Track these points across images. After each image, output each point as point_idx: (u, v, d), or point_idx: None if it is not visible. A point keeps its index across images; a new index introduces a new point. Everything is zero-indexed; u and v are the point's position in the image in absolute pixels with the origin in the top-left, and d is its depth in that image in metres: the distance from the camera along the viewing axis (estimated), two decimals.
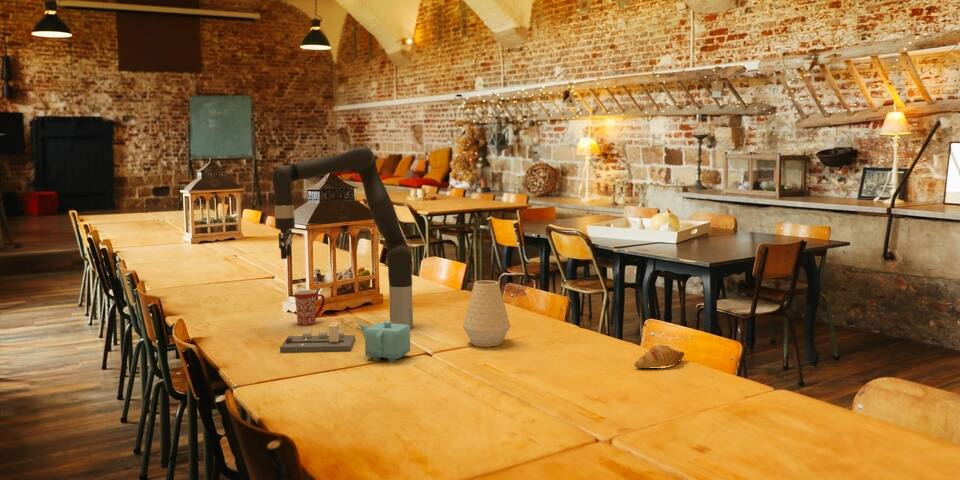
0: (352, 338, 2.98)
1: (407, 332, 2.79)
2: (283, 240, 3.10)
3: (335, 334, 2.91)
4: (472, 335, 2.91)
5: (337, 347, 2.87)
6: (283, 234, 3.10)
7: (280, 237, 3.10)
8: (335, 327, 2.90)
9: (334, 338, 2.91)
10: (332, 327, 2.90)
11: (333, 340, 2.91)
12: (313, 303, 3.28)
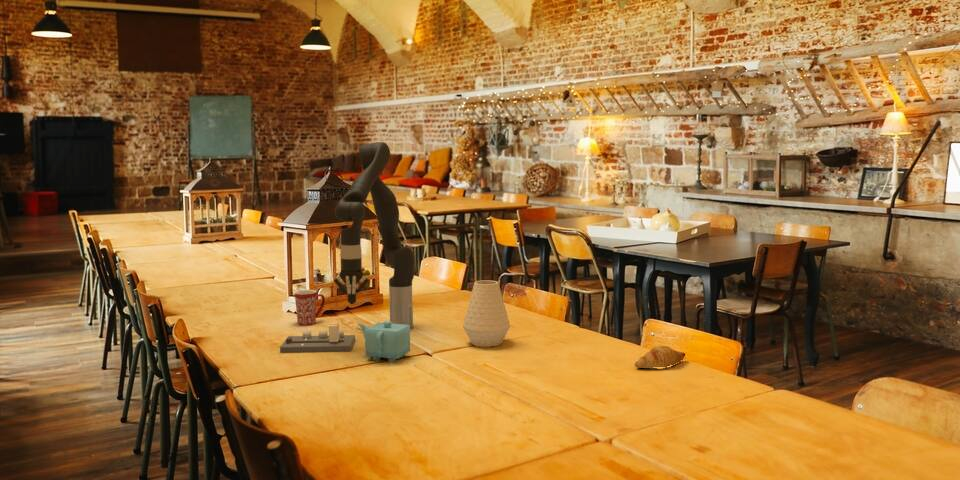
0: (352, 338, 2.98)
1: (407, 332, 2.79)
2: None
3: (335, 334, 2.91)
4: (472, 335, 2.91)
5: (337, 347, 2.87)
6: None
7: None
8: (335, 327, 2.90)
9: (334, 338, 2.91)
10: (332, 327, 2.90)
11: (333, 340, 2.91)
12: (313, 303, 3.28)
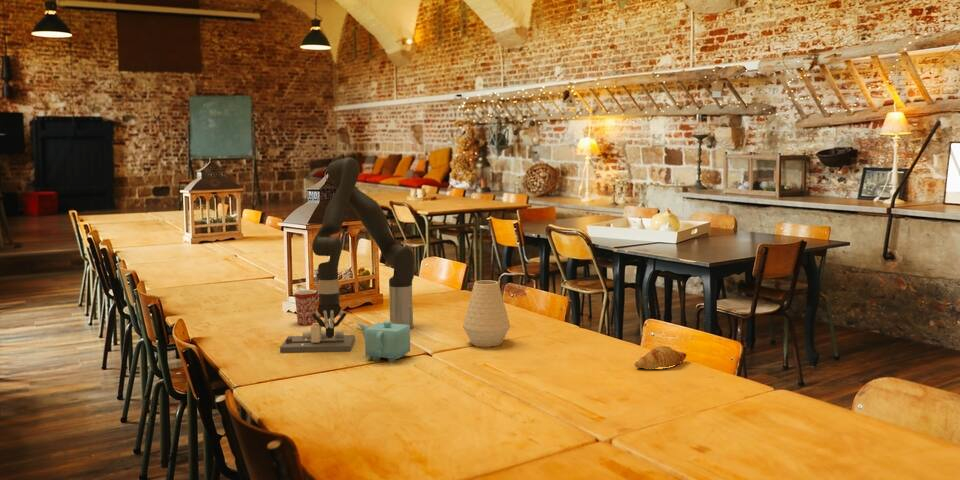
0: (352, 338, 2.98)
1: (407, 332, 2.79)
2: None
3: (317, 334, 2.90)
4: (472, 335, 2.91)
5: (337, 347, 2.87)
6: None
7: None
8: (317, 327, 2.90)
9: (316, 338, 2.91)
10: (314, 327, 2.90)
11: (315, 340, 2.91)
12: (313, 303, 3.28)
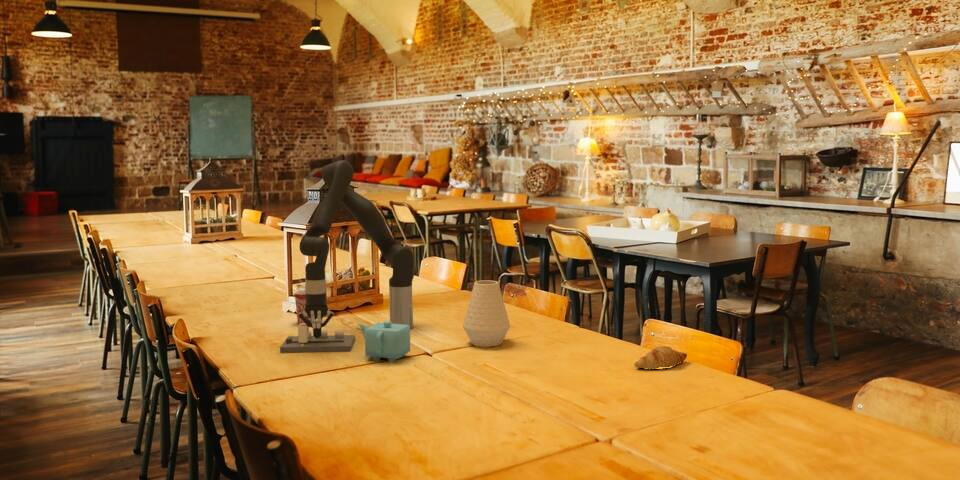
0: (352, 338, 2.98)
1: (407, 332, 2.79)
2: None
3: (304, 335, 2.90)
4: (472, 335, 2.91)
5: (337, 347, 2.87)
6: (333, 314, 2.93)
7: None
8: (304, 328, 2.90)
9: (303, 339, 2.90)
10: (301, 328, 2.90)
11: (302, 341, 2.90)
12: None
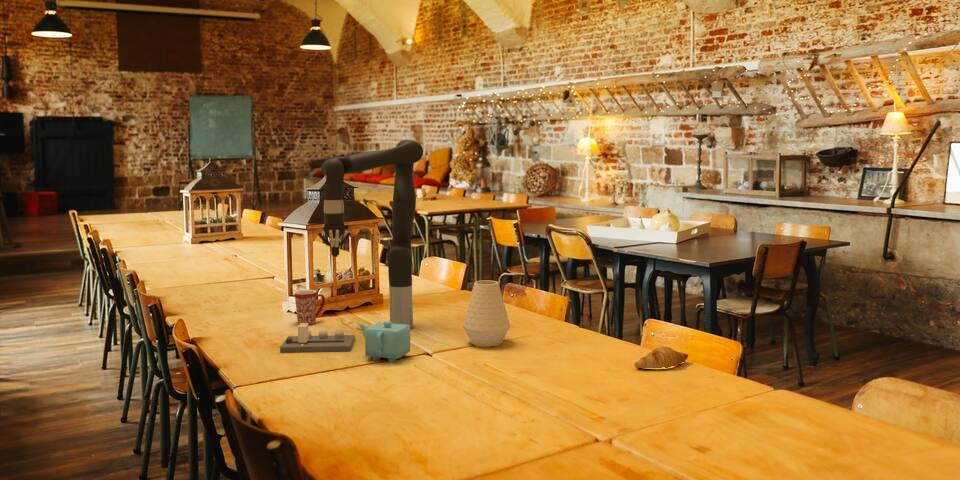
0: (352, 338, 2.98)
1: (407, 332, 2.79)
2: None
3: (304, 335, 2.90)
4: (472, 335, 2.91)
5: (337, 347, 2.87)
6: None
7: (348, 237, 3.05)
8: (304, 328, 2.90)
9: (303, 339, 2.90)
10: (301, 328, 2.90)
11: (302, 341, 2.90)
12: (313, 303, 3.28)
